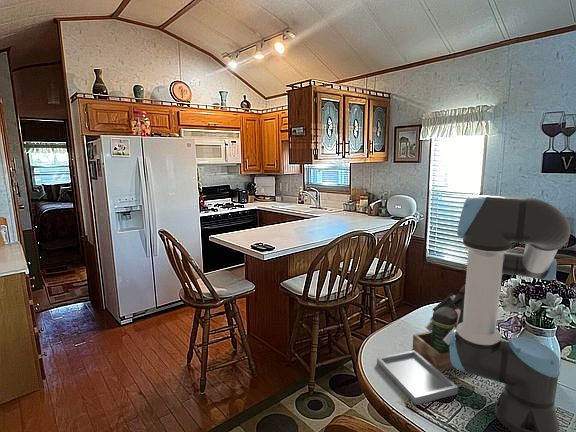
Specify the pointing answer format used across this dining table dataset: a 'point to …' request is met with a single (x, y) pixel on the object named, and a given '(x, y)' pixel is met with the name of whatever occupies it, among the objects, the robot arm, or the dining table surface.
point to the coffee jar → (442, 328)
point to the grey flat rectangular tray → (416, 377)
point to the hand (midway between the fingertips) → (436, 335)
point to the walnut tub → (431, 352)
